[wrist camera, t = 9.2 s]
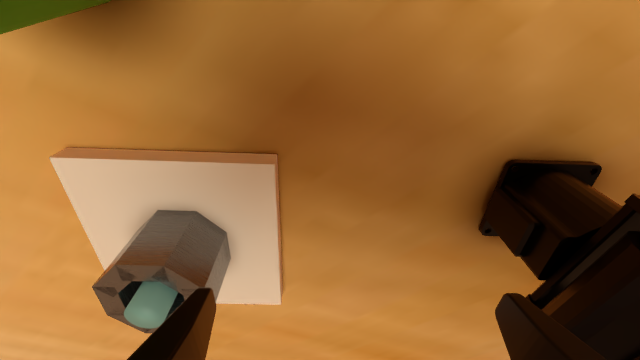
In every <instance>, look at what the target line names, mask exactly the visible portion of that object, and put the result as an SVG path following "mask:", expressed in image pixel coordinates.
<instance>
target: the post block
mask: <svg viewBox="0 0 640 360" xmlns="http://www.w3.org/2000/svg"><path fill="white" fill-rule="evenodd" d="M49 159H50V161H51V163H52V165H53V167H54V169H55V171H56V173H57V175H58V177H59V179H60V181H61V183H62V185H63V187H64V189H65V191H66V193H67V195H68V197H69V199H70V201H71V203H72V205H73V207H74V209H75V211H76V213H77V215H78V217H79V219H80V221H81V224H82V226H83V228H84V230H85V232H86V234H87V236H88V238H89V240H90V242H91V244H92V246H93V248H94V250H95V252H96V254H97V256H98V258H99V260H100V262H101V264H102V266H103V268H104V270H106V269H107V268H108V266H109V265H110V264H111V263H112V261H113V260H114V259H115V258H116V257H117V255H118V254H119V253H120V252H121V250H122V249H123V248H124V247H125V245H126V244H127V243H128V242H129V240H130V239H131V238H132V237H133V235H134V234H135V233H136V232H137V231H138V229H139V228H140V227H141V226H142V225H143V224H144V223H145V222H146V221H147V220H148V219H149V218H150V217H151V216H152V215H153V214H154V213H155V212H156V211H157V210H178V211H197V212H199V213H200V214H201V215H203V216H204V217H206V218H207V219H209V220H210V221H211V222H213V223H214V224H216V225H217V226H218V227H220V228H221V229H223V230H224V231H226V232H227V237H228V243H229V249H230V256H231V259H230V262H229V265H228V268H227V271H226V274H225V277H224V280H223V283H222V286H221V288H220V291H219V294H218V297H217V300H216V303H220V304H275V305H281V301H282V293H283V283H282V258H281V233H280V208H279V183H278V158H277V154H255V153H224V152H193V151H162V150H131V149H100V148H69V147H67V148H65V149H63V150H61V151H60V152H58V153H56V154H54V155H52V156H51V157H49ZM177 294H178V292H177V291H175V290H173V289H172V288H170V287H168V286H166V285H164V284H163V283H161V282H147V281H143V282H142V284H141V285H140V287H139V289H138V290H137V292H136V293H135V295H134V296H133V298H132V300H131V301H130V303H129V304H128V306H127V307H126V309H125V311H124V317H125V318H126V320H127V321H129V322H130V323H131V324H133V325H135V326H138V327H141V328H148V329H151V328H157V327H159V326H160V325H161V324H162V323H163V322H164V321H165V318H166V316H167V314H168V312H169V310H170V308H171V306H172V304H173V302H174V300H175V298H176V296H177Z"/></svg>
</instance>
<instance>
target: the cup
mask: <svg viewBox="0 0 640 360" xmlns="http://www.w3.org/2000/svg"><path fill="white" fill-rule="evenodd" d="M109 1H111V0H0V34H3V33H6V32H9V31H13V30H16V29H20V28H23V27H26V26H30V25H33V24H36V23H40V22H43V21H46V20H50V19H53V18H57V17H60V16H63V15H67V14H70V13H73V12H77V11H80V10H83V9H87V8H90V7H94V6H97V5H100V4H104V3H107V2H109Z"/></svg>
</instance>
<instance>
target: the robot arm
mask: <svg viewBox="0 0 640 360" xmlns="http://www.w3.org/2000/svg"><path fill="white" fill-rule="evenodd" d="M514 166H516V167H515V168H514V169H512V168H513V167H514ZM601 170H602V167H601V166H600V165H598V164H596V163H593V162H563V161H533V160H511V161H509V162H508V163H507V164H506V165H505V167H504V169H503V172H502V174H501V177H500V179H499V181H498V184H497V186H496V189H495V190H494V193H493V195H492V198H491V200H490V202H489V205H488V207H487V210H486V212H485V214H484V217H483V220H482V222H481V224H480V227H479V231H480V232H481V233H482V235H484V236H500V238H501V239H502V240H503V241H504V243H505V244H506V245H507V246H508V248H509V249H510V250H511V251H512V253H513V254H514V255H515V256H519V257H521V259H522V260H523V261H524V262H525V263H526V265H527V266H528V267H529V268H530V270H531V271H532V272H533V273H534V275H535V276H536V277H537V278H538V279H539V280H546V281H545V282H544V283H543V284H542V285H541V286H540V287H539V288H537V289H536V290H535V291H534V292H533V293H532V294H529V295H528V296H527V297H526V298H525V297H524V296H522V295H520V294H517V293H506V294H504V295H503V297H502V298H501V300H500V302H499V304H498V306H497V307H496V310H495V315H496V319H497V322H498V325H499V328H500V331H501V333H502V336H503V339H504V342H505V345H506V347H507V350H508V353H509V356H510V359H511V360H640V195H636V194H632V195H631V196H630V197H629V198H628V199H627V200H626V201H625V203H626V204H625V205H624V206H623V207H622V206H620V205H619V204H617V203H616V202H614V201H613V200H611V199H610V198H608V197H607V196H605V195H603V194H602V193H600V192H599V191H597V190H596V189H594V188H593V187H592V185H593V184H594V182H595V180H596V179H597V177H598V176H599V174H600V172H601ZM486 229H487V230H486ZM215 313H216V302H215V297H214V293H213V290H212V288H210V287H199V288H197V289H196V290H195V291H194V292H193V293H192V294H191V295H190V296H189V297H188V298H187V299H186V300H185V301H184V302H183V303H182V304H181V305H180V306H179V307H178V308H177V309H176V310H175V311H174V312H173V313H172V314H171V315H170V316H169V317H168V318H167V319H166V320H165V321H164V322H163V323H162V324H161V325H160V326H159V327H158V328H157V329H156V330H155V331H154V332H153V333H152V334H151V335H150V336H149V338H148V339H147V340H146V341H145V342H144V343H143V344H142V345H141V346H140V347H139V348H138V349H137V350H136V351H135V352H134V353H133V354H132V355H131V356H130V357H129V358H128V359H127V360H205V358H206V353H207V349H208V344H209V340H210V335H211V331H212V326H213V322H214V317H215Z"/></svg>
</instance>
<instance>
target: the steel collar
mask: <svg viewBox="0 0 640 360" xmlns="http://www.w3.org/2000/svg"><path fill="white" fill-rule="evenodd" d="M230 259H231V256H230V249H229V243H228V237H227V232H226V231H224V230H223V229H221V228H220V227H218V226H217V225H216V224H214V223H213V222H211V221H210V220H209V219H207V218H206V217H204V216H203V215H201V214H200V213H199V212H197V211H178V210H157V211H156V212H155V213H154V214H153V215H152V216H151V217H150V218H149V219H148V220H147V221H146V222H145V223H144V224H143V225H142V226H141V227H140V228H139V229H138V231H137V232H136V233H135V234H134V235H133V237H132V238H131V239H130V240H129V242H128V243H127V244H126V245H125V247H124V248H123V249H122V250H121V252H120V253H119V254H118V255H117V257H116V258H115V259H114V260H113V261H112V263H111V264H110V265H109V266H108V268H107V269H106V270H105V271H104V273H103V274H102V275H101V276H100V278H99V279H98V280H97V281H96V283H95V284H94V285H93V286H92V288H93V290H94V291H95V293H96V295H97V297H98V299H99V301H100V302H101V304H102V306H103V308H104V310H105V312H106V314H107V315H108V316H110V317H112V318H114V319H117V320H119V321H121V322H123V323H125V324H127V325H129V326H131V327H134V328H136V329H138V330H140V331H142V332H144V333H153V332H154V331H155V330H156V329H157V328H158V327H157V328H151V329H148V328H141V327H138V326H135V325H133V324H131V323H130V322H129V321H127V320H126V318H125V317H124V311H125V309H126V307H127V306H128V304H129V303H130V301H131V300H132V298H133V296H134V295H135V293H136V292H137V290H138V289H139V287H140V285H141V284H142V282H143V281H147V282H161V283H163V284H164V285H166V286H168V287H170V288H172V289H173V290H175V291H177V292H178V294H177V296H176V298H175V300H174V302H173V304H172V306H171V308H170V310H169V312H168V314H167V316H166V318H165V320H166V319H167V318H168V317H169V316H170V315H171V314H172V313H173V312H174V311H175V310H176V309H177V308H178V307H179V306H180V305H181V304H182V303H183V302H184V301H185V300H186V299H187V298H188V297H189V296H190V295H191V294H192V293H193V292H194V291H195V290H196V289H197V288H199V287H210V288H212V290H213V293H214V297H215V302H216V300H217V297H218V294H219V291H220V288H221V286H222V283H223V280H224V277H225V274H226V271H227V268H228V265H229V262H230Z"/></svg>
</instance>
